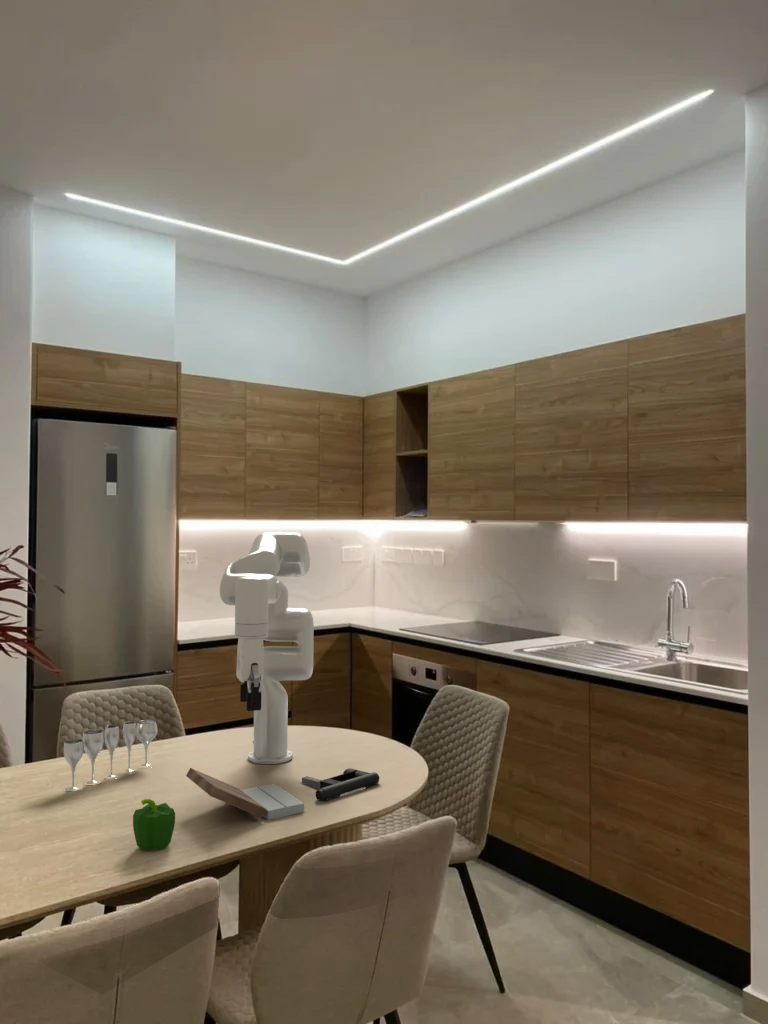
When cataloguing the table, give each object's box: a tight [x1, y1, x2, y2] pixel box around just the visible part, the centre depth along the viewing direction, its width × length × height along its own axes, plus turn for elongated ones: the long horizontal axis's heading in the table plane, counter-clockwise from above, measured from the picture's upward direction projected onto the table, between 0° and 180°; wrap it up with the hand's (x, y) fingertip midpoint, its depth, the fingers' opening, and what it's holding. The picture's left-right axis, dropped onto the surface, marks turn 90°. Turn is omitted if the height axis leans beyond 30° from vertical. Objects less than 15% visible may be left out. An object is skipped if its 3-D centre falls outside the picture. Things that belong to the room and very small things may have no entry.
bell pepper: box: [132, 798, 176, 852], centre depth 160 cm, size 8×8×10 cm
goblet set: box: [62, 719, 158, 792], centre depth 204 cm, size 28×6×13 cm, turn 147°
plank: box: [185, 767, 266, 818], centre depth 178 cm, size 16×14×2 cm
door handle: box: [301, 768, 380, 802], centre depth 198 cm, size 3×20×16 cm
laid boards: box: [240, 783, 305, 821], centre depth 184 cm, size 16×9×2 cm, turn 33°
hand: (250, 705), depth 178 cm, fingers open, 9 cm apart
